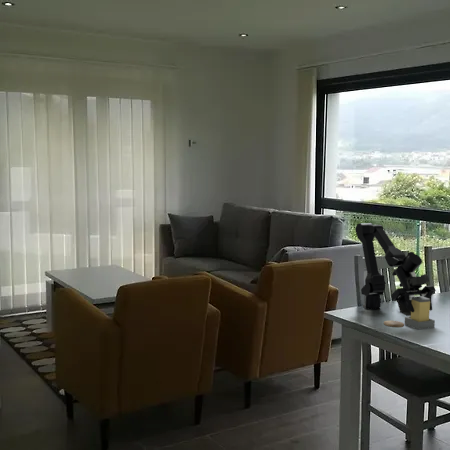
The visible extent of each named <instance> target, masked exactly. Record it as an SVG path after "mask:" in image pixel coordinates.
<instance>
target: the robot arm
mask: <svg viewBox="0 0 450 450" xmlns="http://www.w3.org/2000/svg"><path fill="white" fill-rule="evenodd" d="M354 230H355V233H356V237H357V239H358V240H359V241H360V243H361V246H362V251H363V256H364V261H365V262H364V263H365V266H366V267H365V268H366V273H367V274H366V277H365V280H364V285H363V287H362V288H361V289H360V292H361V293H360V294H361V295H363V296H364V300H363V304H362V306H363V307H364V308H365V310H381V306H382V305H381V304H382V303H381V302H382V301H381V300H382V299H381V298H380V297H381V296H383V295H384V292H385V289H386V283H387V282H386V281H385V275H384V274H381V273H380V271H379V267H378V262H377V257H376V251H375V250H376V249H375V245H374V239H375V240H376V241H377V242H378V244H379V246H380V247H381V249H382V250H383V252H384V259H385V262H386V264H387V265H388V266H389V267H390V268H391V267H396V268H393V271H392V276H396V277H397V279H398V281H399V288H395V290H394V291H393V292H392V294H391V299H392V301H393V302H396V303H398V302H399V303H400V304H402V305H403V306H405V307H406V308H407V309H409V310H410V311H411V312H414V308H413V306H412V303H411V301H410V299H409V296H410V295H414V296H423V297H426V298H429V299H430V311H432V310H433V304H432V296H433V295H434V293H435V292H436V291H437V290H436V287H435V286H434V285H427V284H428V282H430V278H429V276H428V274H422V275H420V276H416V277H413V276H412V274H411V272H416V270H418V268H419V267H420V266H421V265H422V264H423V260H422V257H420V256H419V254H417V253H415V252H414V251H409V252H408V253H407V255H405V253H404V252H403V251H402V250H401V249H399V248H398V247H396V246H395V245H394V244H393V241H392V240H391V238H390V237H389V235H388V234H387V233H386V231H385V229H384V226H383V225H381V224H373V222H372V223H371V222H362V223H358V224H356V226H355V228H354ZM423 285H425V286H424V287H423ZM422 287H423V288H422ZM421 288H422V289H421ZM430 311H429V312H430Z"/></svg>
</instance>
